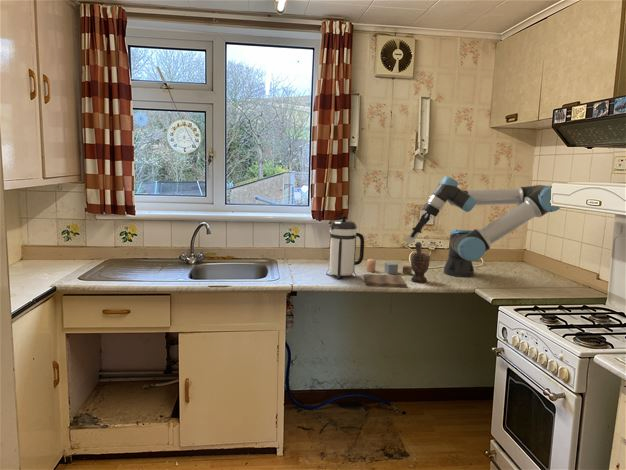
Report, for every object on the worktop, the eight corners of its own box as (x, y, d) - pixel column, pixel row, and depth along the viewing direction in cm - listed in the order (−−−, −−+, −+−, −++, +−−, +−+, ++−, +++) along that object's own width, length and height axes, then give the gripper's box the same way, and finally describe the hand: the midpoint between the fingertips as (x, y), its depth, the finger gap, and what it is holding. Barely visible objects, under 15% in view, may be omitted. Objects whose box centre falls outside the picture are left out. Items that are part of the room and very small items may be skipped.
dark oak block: (411, 273, 232) (412, 266, 231) (410, 275, 228) (410, 267, 228) (403, 272, 233) (404, 265, 233) (402, 274, 230) (402, 266, 229)
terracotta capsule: (374, 270, 236) (375, 259, 235) (375, 272, 232) (376, 260, 231) (366, 269, 236) (366, 258, 235) (367, 272, 232) (367, 260, 231)
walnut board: (400, 278, 221) (400, 275, 221) (406, 287, 205) (406, 284, 205) (363, 277, 221) (363, 274, 221) (366, 285, 206) (366, 282, 205)
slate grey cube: (393, 271, 235) (394, 262, 234) (397, 274, 230) (398, 264, 229) (384, 272, 234) (385, 262, 233) (388, 274, 229) (388, 264, 228)
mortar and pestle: (429, 285, 210) (433, 243, 207) (411, 284, 211) (414, 242, 208) (426, 279, 221) (430, 239, 218) (408, 278, 222) (411, 238, 219)
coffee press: (354, 281, 212) (358, 218, 207) (322, 277, 217) (324, 215, 212) (362, 273, 228) (366, 214, 223) (332, 270, 233) (335, 212, 228)
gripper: (427, 203, 231) (404, 237, 235) (426, 200, 207) (400, 238, 211) (440, 211, 230) (416, 245, 233) (440, 209, 206) (413, 247, 209)
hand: (408, 242), depth 222 cm, fingers open, 13 cm apart
